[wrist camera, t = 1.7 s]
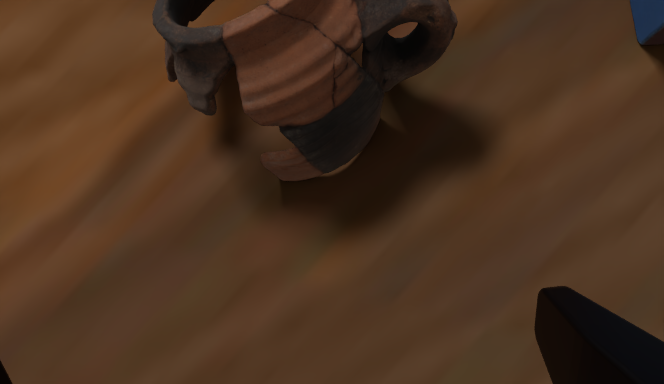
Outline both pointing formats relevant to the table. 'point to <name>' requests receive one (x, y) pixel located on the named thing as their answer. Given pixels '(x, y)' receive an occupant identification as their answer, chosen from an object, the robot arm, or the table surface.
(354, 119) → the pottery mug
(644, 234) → the table surface
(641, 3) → the protein box
